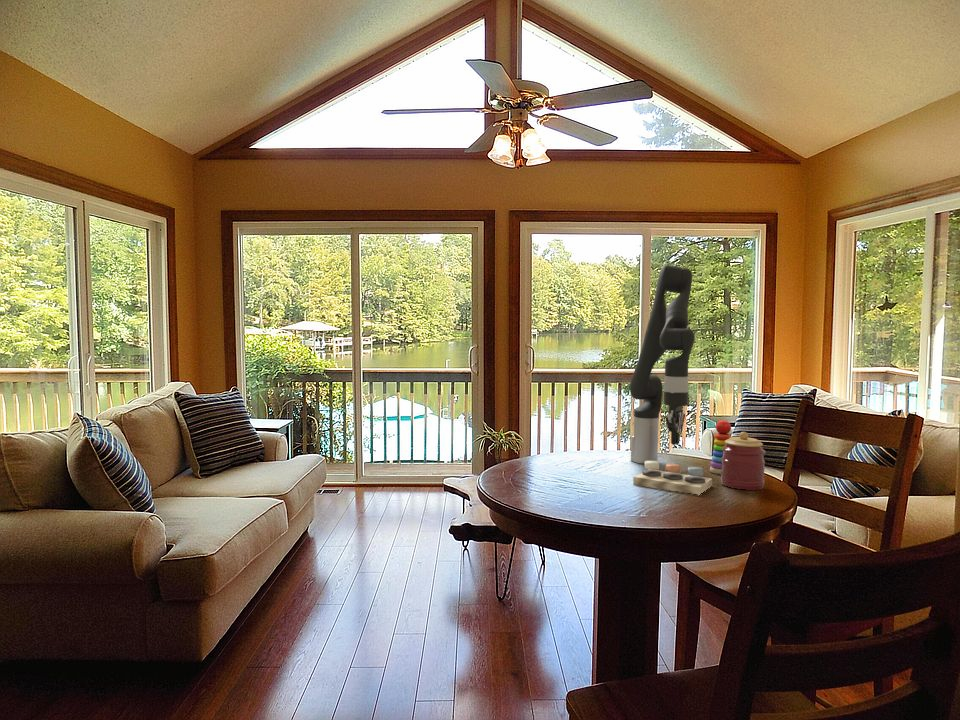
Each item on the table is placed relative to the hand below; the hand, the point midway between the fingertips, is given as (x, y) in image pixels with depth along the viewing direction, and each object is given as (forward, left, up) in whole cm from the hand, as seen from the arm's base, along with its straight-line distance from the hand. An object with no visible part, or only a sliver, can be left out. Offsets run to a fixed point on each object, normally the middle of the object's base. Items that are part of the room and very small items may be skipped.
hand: (675, 444), depth 189 cm
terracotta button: (0, 0, -9) cm, 9 cm away
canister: (+18, +14, -14) cm, 26 cm away
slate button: (+7, 0, -9) cm, 11 cm away
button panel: (0, 0, -14) cm, 14 cm away
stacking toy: (+8, +29, -14) cm, 33 cm away
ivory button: (-7, 0, -9) cm, 12 cm away
